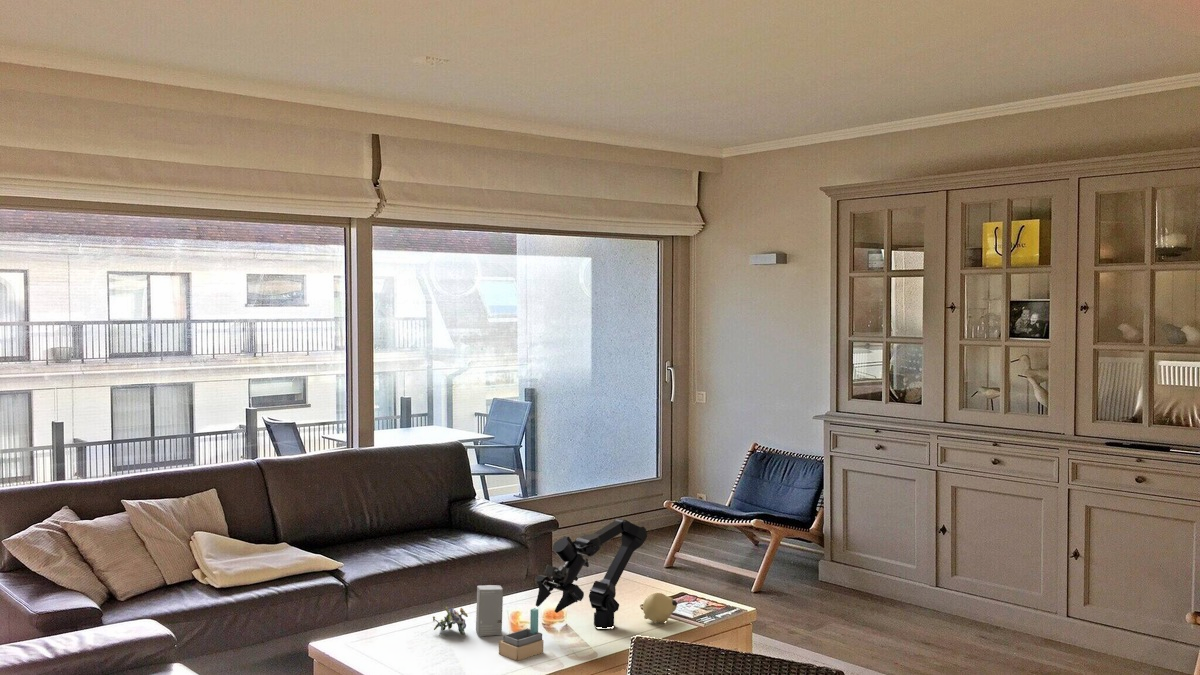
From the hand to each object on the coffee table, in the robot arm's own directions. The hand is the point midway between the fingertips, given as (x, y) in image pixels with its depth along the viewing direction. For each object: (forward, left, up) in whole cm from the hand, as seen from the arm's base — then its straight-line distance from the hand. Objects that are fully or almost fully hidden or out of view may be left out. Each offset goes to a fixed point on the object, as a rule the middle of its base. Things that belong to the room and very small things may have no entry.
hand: (546, 609), depth 318 cm
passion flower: (+32, -13, -12) cm, 36 cm away
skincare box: (+19, -14, -12) cm, 26 cm away
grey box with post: (+8, +7, -12) cm, 16 cm away
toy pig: (-41, -22, -12) cm, 48 cm away
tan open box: (+8, +7, -12) cm, 16 cm away
